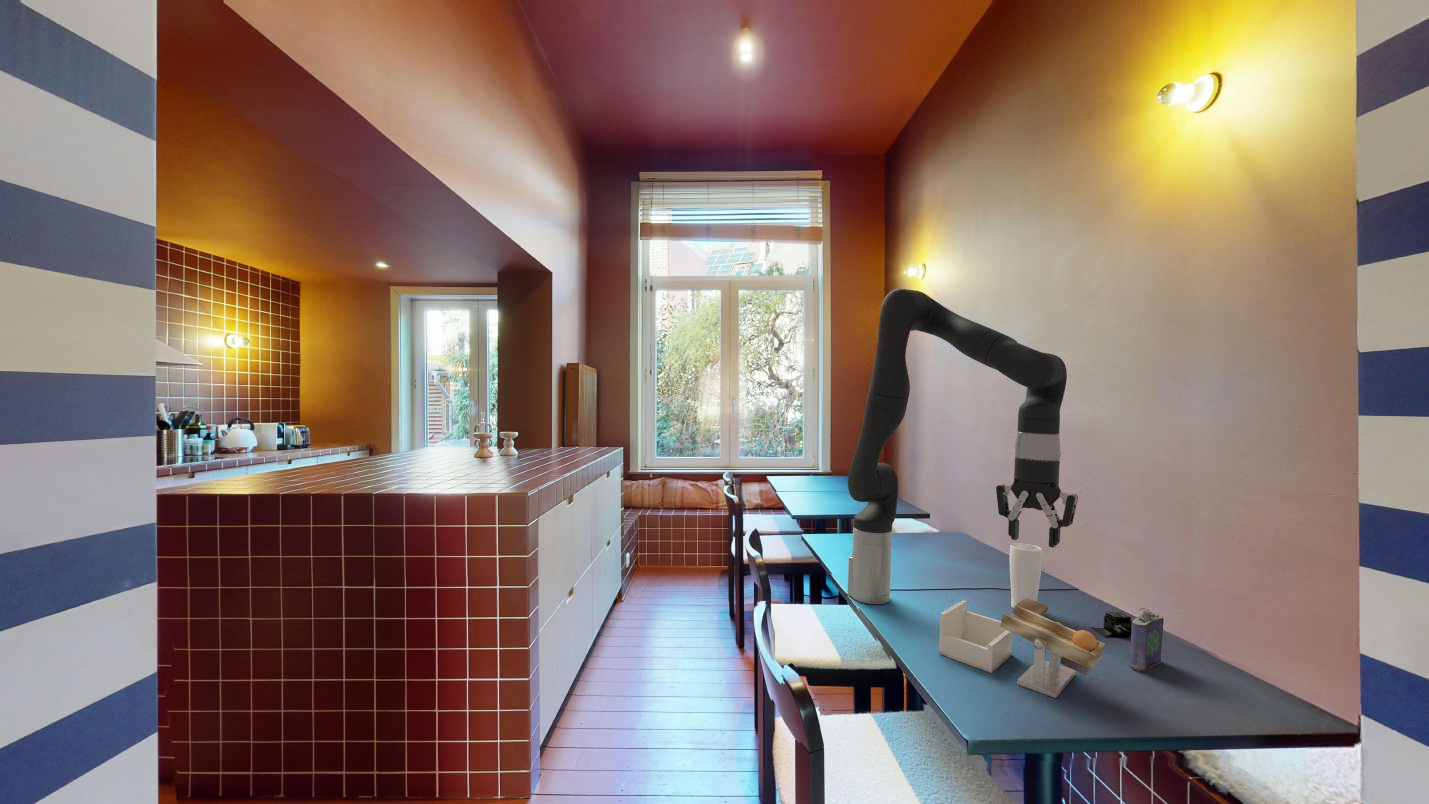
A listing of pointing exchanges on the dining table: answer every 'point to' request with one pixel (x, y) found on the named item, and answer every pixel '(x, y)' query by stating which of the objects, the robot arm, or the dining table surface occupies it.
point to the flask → (1146, 641)
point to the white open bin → (973, 638)
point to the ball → (1084, 640)
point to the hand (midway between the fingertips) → (1033, 542)
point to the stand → (1046, 672)
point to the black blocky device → (1115, 620)
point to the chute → (1050, 635)
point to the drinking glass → (1024, 572)
